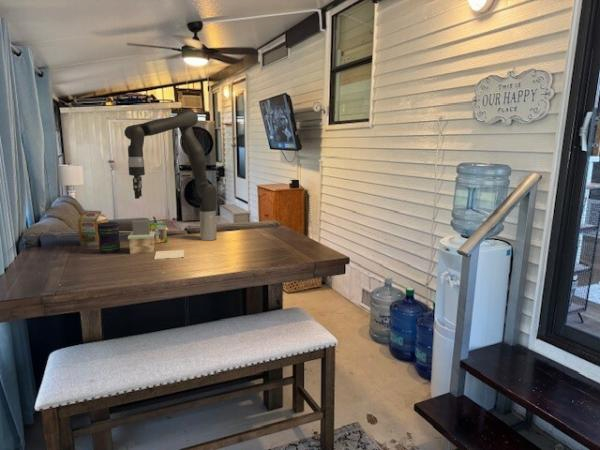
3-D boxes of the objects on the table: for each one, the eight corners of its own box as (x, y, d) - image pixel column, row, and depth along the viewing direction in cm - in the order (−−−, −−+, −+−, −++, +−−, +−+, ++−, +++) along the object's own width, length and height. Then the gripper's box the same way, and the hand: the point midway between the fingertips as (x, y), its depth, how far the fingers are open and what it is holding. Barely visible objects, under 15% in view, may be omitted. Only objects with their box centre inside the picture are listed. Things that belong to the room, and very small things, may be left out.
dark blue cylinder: (112, 255, 202) (110, 226, 200) (95, 253, 204) (92, 225, 201) (124, 250, 212) (122, 222, 209) (108, 249, 214) (105, 221, 211)
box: (154, 247, 218) (153, 233, 216) (152, 252, 207) (152, 237, 206) (132, 248, 215) (131, 234, 213) (130, 254, 204) (129, 238, 203)
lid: (154, 235, 217) (153, 218, 215) (153, 239, 206) (152, 222, 204) (131, 236, 214) (129, 219, 212) (128, 241, 202) (126, 223, 201)
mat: (184, 250, 212) (184, 250, 212) (184, 257, 199) (183, 256, 199) (156, 252, 209) (156, 251, 209) (154, 259, 195) (154, 258, 195)
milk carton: (109, 242, 229) (106, 209, 225) (98, 246, 218) (95, 212, 215) (91, 241, 230) (89, 208, 226) (80, 246, 219) (77, 211, 216)
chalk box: (167, 242, 231) (166, 217, 228) (150, 244, 226) (149, 218, 223) (163, 239, 238) (162, 214, 235) (147, 240, 233) (145, 215, 231)
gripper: (142, 166, 198) (144, 199, 201) (145, 165, 211) (147, 195, 214) (126, 166, 196) (128, 199, 199) (130, 165, 209) (132, 196, 212)
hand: (138, 197), depth 206 cm, fingers open, 8 cm apart
